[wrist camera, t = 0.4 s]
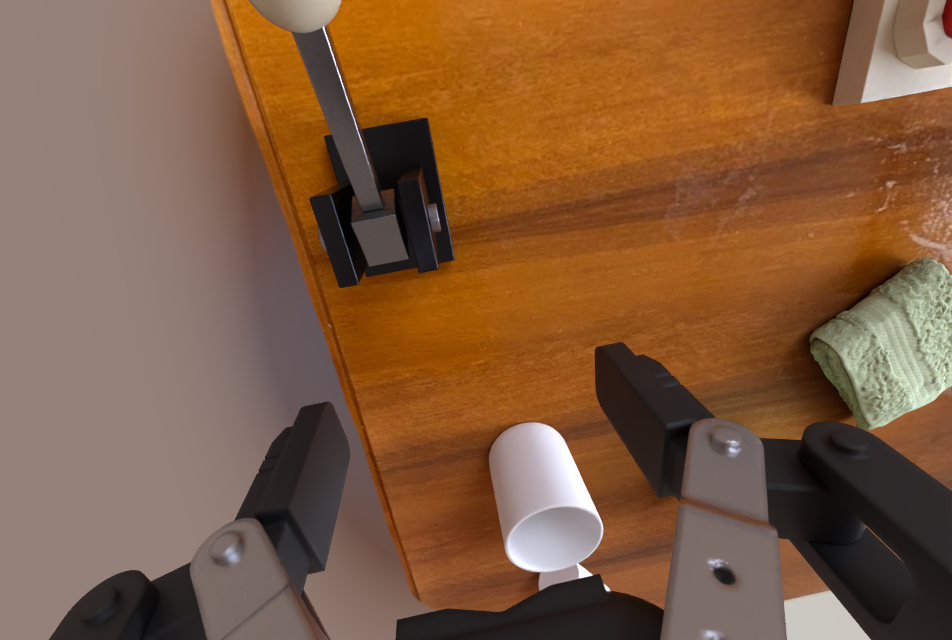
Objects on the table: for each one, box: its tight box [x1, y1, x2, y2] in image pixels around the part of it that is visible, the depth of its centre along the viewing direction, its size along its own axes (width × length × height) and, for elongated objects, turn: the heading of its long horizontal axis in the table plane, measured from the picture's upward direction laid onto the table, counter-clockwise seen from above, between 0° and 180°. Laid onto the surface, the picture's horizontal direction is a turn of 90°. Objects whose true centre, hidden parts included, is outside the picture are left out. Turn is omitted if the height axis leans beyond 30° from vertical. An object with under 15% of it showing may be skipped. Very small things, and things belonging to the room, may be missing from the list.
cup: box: [489, 422, 603, 572], centre depth 37 cm, size 8×12×10 cm
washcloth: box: [810, 257, 952, 430], centre depth 39 cm, size 13×18×3 cm
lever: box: [249, 0, 409, 267], centre depth 16 cm, size 13×3×3 cm, turn 11°
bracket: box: [310, 118, 455, 288], centre depth 24 cm, size 10×7×12 cm
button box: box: [832, 0, 952, 106], centre depth 26 cm, size 10×9×4 cm
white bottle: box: [539, 564, 610, 591], centre depth 49 cm, size 6×12×6 cm, turn 40°
